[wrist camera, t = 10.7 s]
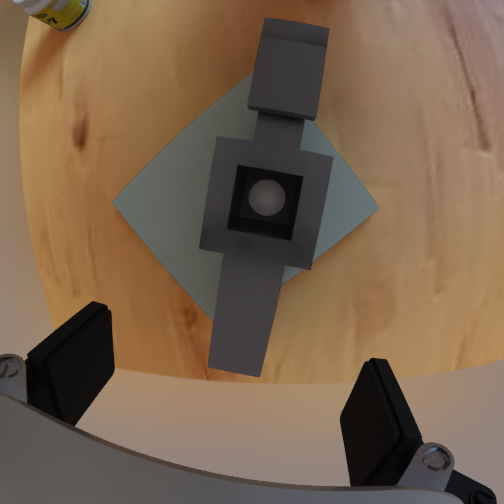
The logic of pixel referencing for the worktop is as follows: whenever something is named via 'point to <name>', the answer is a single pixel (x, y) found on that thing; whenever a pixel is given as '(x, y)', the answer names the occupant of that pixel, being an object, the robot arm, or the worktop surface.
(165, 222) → the board
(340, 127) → the worktop surface
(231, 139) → the link
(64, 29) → the supplement bottle
